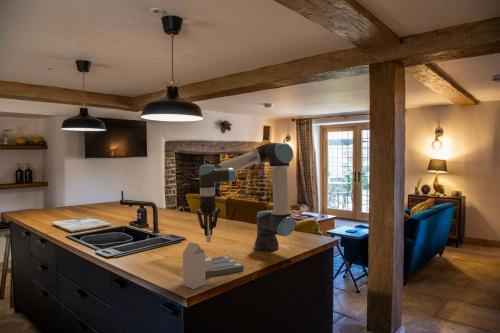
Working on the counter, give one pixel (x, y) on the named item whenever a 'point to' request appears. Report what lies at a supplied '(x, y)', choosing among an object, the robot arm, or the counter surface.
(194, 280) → the milk carton
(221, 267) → the breaker panel
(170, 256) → the counter surface
